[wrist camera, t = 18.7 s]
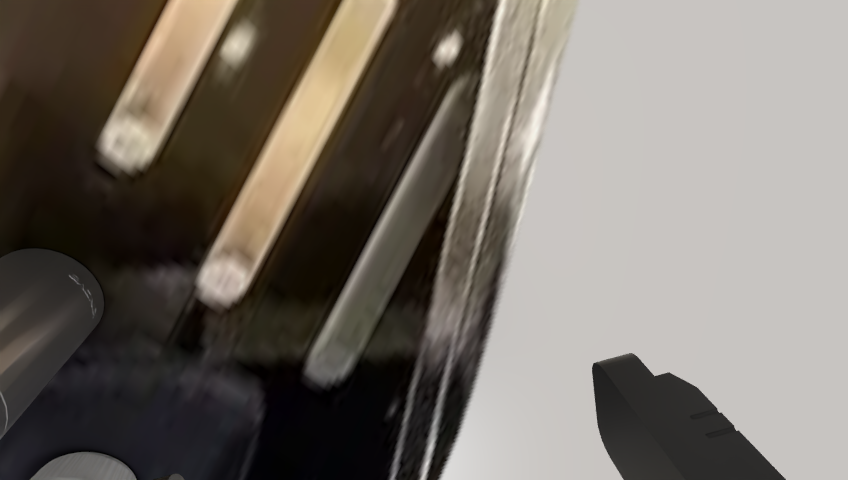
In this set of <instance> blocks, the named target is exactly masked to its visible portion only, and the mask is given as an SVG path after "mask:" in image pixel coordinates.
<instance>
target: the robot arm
mask: <svg viewBox="0 0 848 480" xmlns="http://www.w3.org/2000/svg"><path fill="white" fill-rule="evenodd" d="M103 310H104V298H103V293H102V290H101V288H100V285H99V283H98V282H97V280H96V279H95V277H94V276H93V275H92V274H91V273H90V272H89V271H88V270H87V269H86V268H85V267H84V266H83V265H82V264H80V263H79V262H77V261H76V260H74V259H73V258H70V257H68V256H66V255H64V254H62V253H59V252H55V251H52V250H47V249H38V248H33V249H22V250H18V251H14V252H11V253H9V254H7V255H5V256H3V257H1V258H0V439H1V438H2V437H3V436H4V435H5V433H6V432H7V431H8V430H9V429H10V428H11V426H12V425H13V424H14V423H15V422H16V420H17V419H18V418H19V417H20V416H21V415H22V413H23V412H24V411H25V410H26V409H27V407H28V406H29V405H30V404H31V403H32V402H33V400H34V399H35V398H36V397H37V396H38V394H39V393H40V392H41V391H42V390H43V388H44V387H45V386H46V385H47V384H48V383H49V381H50V380H51V379H52V378H53V377H54V375H55V374H56V373H57V372H58V371H59V370H60V368H61V367H62V366H63V365H64V364H65V362H66V361H67V360H68V359H69V358H70V357H71V355H72V354H73V353H74V352H75V351H76V350H77V348H78V347H79V346H80V345H81V344H82V342H83V341H84V340H85V339H86V338H87V336H88V335H89V334H90V333H91V332H92V330H93V329H94V328H95V327H96V325H97V324H98V323H99V322H100V319H101V317H102V315H103ZM592 374H593V383H594V394H595V403H596V412H597V423H598V428H599V431H600V435H601V438H602V441H603V443H604V446H605V448H606V450H607V452H608V454H609V456H610V458H611V460H612V461H613V463H614V464H615V466H616V468H617V469H618V471H619V473H620V474H621V476H622V478H623V479H624V480H786V479H785V478H784V477H783V476H782V475H781V474H780V473H779V472H778V471H777V470H776V469H775V468H774V467H773V466H772V465H771V464H770V463H769V462H768V461H767V460H766V459H765V457H764V456H762V454H761V453H760V452H759V451H758V450H757V449H756V448H755V447H754V446H753V445H752V444H751V443H750V442H749V441H748V440H747V439H746V438H745V437H744V436H743V435H742V434H741V433H740V432H739V431H736V430H735V428H734V425H733V424H732V423H731V422H730V421H729V420H728V419H727V418H726V417H725V416H724V415H723V414H722V413H719V412H718V411H717V408H716V407H715V406H714V405H713V404H712V403H711V402H710V401H709V400H708V398H707V397H705V395H704V394H703V393H702V392H701V391H700V390H699V389H698V388H697V387H695V386H693V385H692V384H690V383H688V382H686V381H684V380H682V379H680V378H678V377H676V376H674V375H673V374H671V373H665V374H661V375H658V376H654V375H653V374H652V373H651V372H650V371H649V369H648V368H647V367H646V366H645V365H644V364H643V363H642V362H641V360H640V359H639V358H638V357H637V356H636V355H634V354H632V353H629V354H626V355H622V356H619V357H615V358H611V359H607V360H603V361H600V362H596V363H594V364H593V367H592ZM154 480H184V478H183V477H182V476H181V475H179V474H172V475H169V476H165V477H161V478H157V479H154Z"/></svg>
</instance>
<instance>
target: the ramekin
mask: <svg viewBox="0 0 848 480" xmlns="http://www.w3.org/2000/svg"><path fill="white" fill-rule="evenodd" d="M30 480H137V479H136V477H135V475H134V473H133V472H132V471H131V470H130V468H129V467H128V466H126V465H125V464H124V463H123V462H121V461H119V460H118V459H115V458H113V457H111V456H108V455H105V454H101V453H96V452H77V453H72V454H67V455H64V456H60V457H58V458H56V459H54V460H52V461H51V462H49V463H47V464H46V465H45V466H44V467H42V468H41V469H40V470H39V471H38V472H37V473H36V474H35V475H34V476H33V477H32V478H31V479H30Z"/></svg>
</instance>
